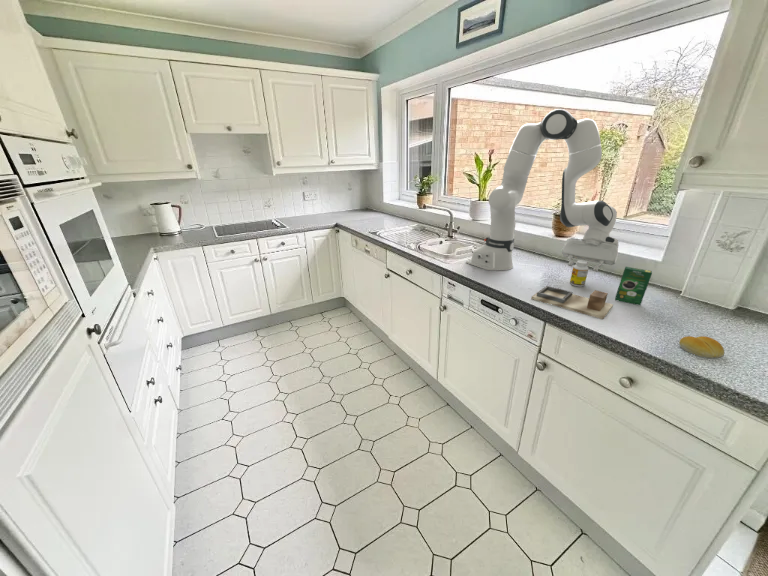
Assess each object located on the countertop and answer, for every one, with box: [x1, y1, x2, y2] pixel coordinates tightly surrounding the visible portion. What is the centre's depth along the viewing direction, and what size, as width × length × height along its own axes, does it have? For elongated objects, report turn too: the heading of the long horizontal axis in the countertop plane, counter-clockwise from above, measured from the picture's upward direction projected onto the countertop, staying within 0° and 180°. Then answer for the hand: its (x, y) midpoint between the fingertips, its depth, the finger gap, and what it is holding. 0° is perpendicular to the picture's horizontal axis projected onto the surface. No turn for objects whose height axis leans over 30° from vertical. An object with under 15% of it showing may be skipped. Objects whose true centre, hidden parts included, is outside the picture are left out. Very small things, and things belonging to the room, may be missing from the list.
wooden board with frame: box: [531, 285, 614, 320], centre depth 118 cm, size 24×13×6 cm, turn 45°
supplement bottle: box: [569, 259, 589, 287], centre depth 133 cm, size 6×6×10 cm
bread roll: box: [678, 335, 725, 359], centre depth 89 cm, size 8×9×4 cm
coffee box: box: [614, 266, 653, 306], centre depth 116 cm, size 8×3×13 cm, turn 53°
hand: (582, 268), depth 134 cm, fingers open, 8 cm apart
